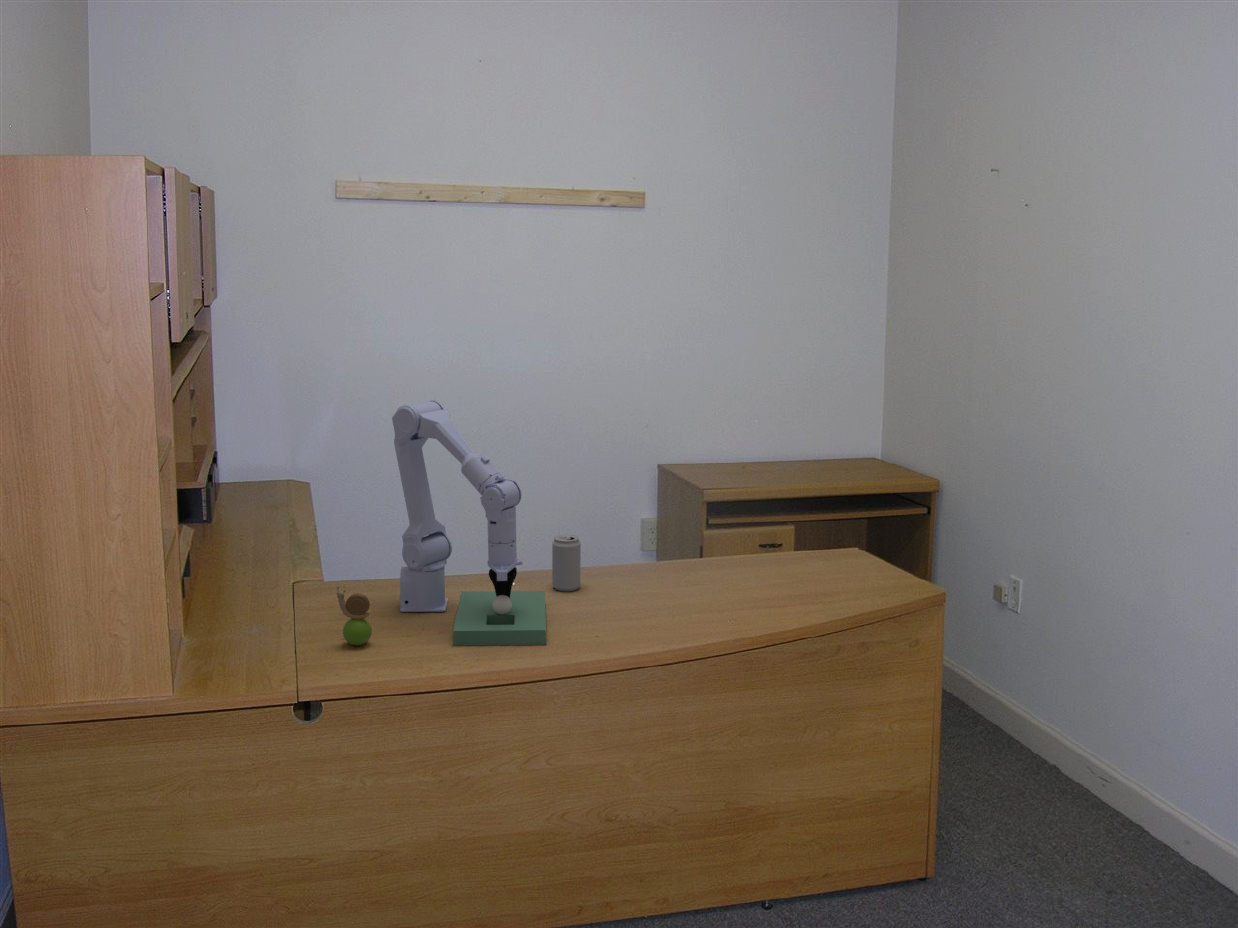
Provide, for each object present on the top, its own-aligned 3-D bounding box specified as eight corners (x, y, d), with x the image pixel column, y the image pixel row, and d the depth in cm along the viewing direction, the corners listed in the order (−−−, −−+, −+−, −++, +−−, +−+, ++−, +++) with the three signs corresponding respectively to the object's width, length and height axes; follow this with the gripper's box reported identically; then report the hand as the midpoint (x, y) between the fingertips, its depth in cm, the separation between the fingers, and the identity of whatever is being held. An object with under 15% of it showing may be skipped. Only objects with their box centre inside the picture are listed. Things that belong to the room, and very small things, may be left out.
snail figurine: (340, 639, 215) (338, 581, 213) (373, 639, 216) (372, 581, 213) (336, 649, 210) (333, 590, 208) (370, 649, 211) (368, 589, 208)
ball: (490, 595, 221) (493, 596, 225) (491, 614, 220) (494, 615, 224) (509, 593, 221) (512, 594, 225) (510, 613, 220) (514, 614, 224)
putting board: (453, 645, 213) (453, 630, 213) (461, 604, 237) (461, 591, 236) (545, 644, 215) (545, 630, 214) (544, 604, 238) (544, 590, 238)
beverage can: (576, 593, 246) (577, 542, 243) (548, 591, 247) (549, 539, 245) (583, 584, 252) (583, 534, 249) (556, 582, 253) (556, 532, 251)
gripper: (521, 549, 215) (523, 615, 217) (522, 530, 229) (523, 592, 231) (485, 550, 214) (487, 616, 217) (488, 530, 228) (489, 593, 231)
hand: (503, 604), depth 224 cm, fingers closed, pressing on ball
